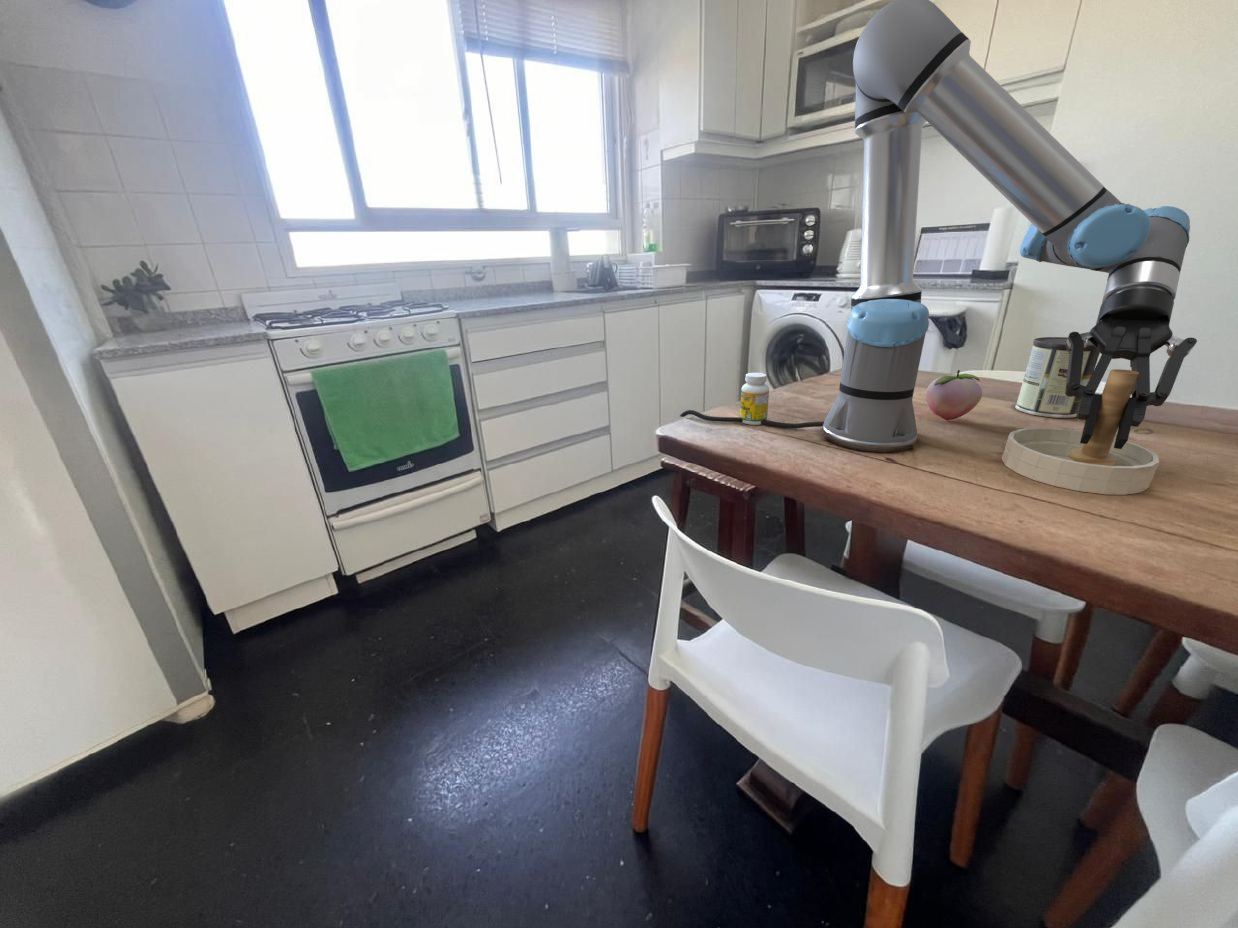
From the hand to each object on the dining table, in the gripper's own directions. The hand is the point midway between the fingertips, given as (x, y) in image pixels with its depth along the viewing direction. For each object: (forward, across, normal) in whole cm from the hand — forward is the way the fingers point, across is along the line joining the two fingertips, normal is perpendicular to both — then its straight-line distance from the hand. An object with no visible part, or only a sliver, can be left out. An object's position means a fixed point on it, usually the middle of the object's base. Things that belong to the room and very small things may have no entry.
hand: (1103, 441), depth 67 cm
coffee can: (-23, +5, -33) cm, 40 cm away
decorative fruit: (-11, +20, -20) cm, 31 cm away
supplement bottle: (+4, +51, -5) cm, 51 cm away
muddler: (0, 0, -6) cm, 6 cm away
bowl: (+2, +2, -7) cm, 7 cm away
